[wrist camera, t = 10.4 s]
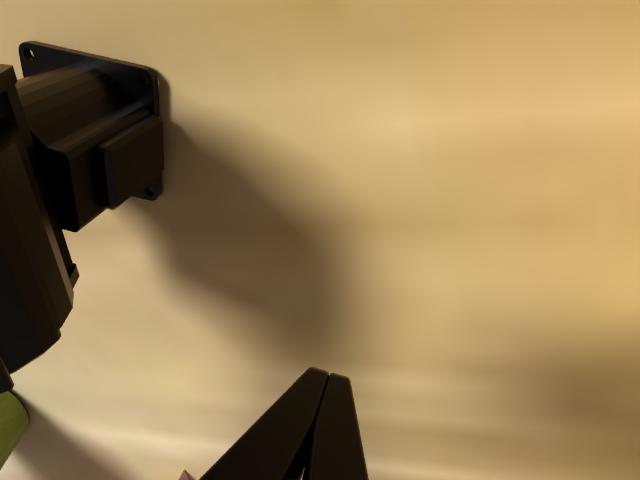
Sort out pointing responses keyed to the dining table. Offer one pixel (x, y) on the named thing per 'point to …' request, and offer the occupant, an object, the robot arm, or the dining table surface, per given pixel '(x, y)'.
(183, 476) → the greeting card
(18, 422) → the plant pot
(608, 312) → the dining table surface
